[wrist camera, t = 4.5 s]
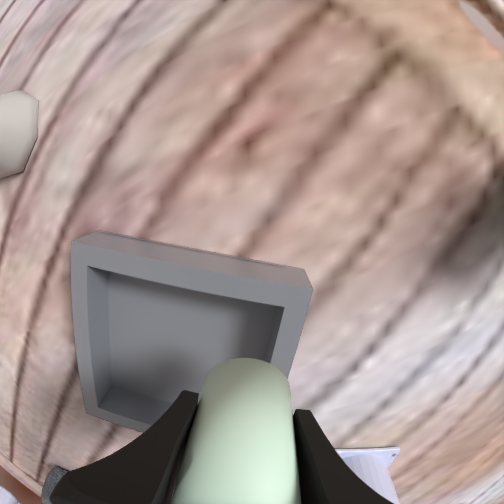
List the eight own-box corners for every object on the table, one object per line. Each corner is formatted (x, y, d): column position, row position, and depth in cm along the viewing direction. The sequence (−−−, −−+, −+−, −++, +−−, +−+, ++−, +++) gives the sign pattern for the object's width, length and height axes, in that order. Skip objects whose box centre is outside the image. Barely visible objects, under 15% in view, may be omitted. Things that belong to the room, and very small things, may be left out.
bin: (261, 424, 22) (260, 456, 18) (103, 387, 21) (86, 412, 18) (304, 269, 18) (313, 289, 15) (99, 230, 18) (71, 241, 15)
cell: (278, 426, 13) (283, 558, 6) (199, 413, 13) (166, 544, 6) (300, 365, 12) (324, 520, 5) (208, 349, 12) (162, 502, 5)
